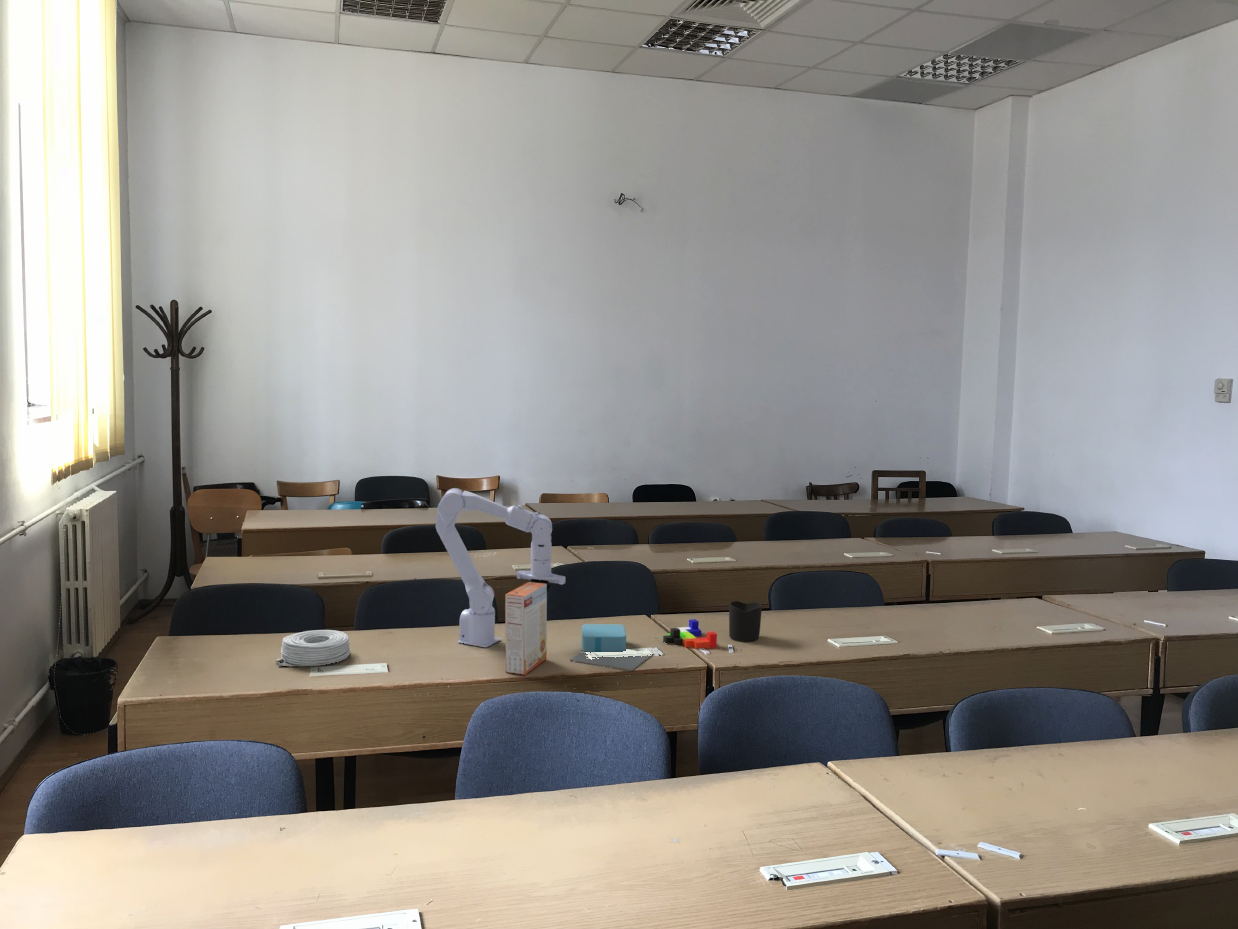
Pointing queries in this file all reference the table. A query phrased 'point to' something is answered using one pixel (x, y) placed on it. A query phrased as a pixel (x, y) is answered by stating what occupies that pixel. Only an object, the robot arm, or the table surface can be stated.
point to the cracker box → (526, 627)
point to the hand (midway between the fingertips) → (540, 606)
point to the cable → (314, 648)
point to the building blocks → (691, 636)
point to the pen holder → (744, 621)
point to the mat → (612, 661)
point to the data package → (603, 638)
